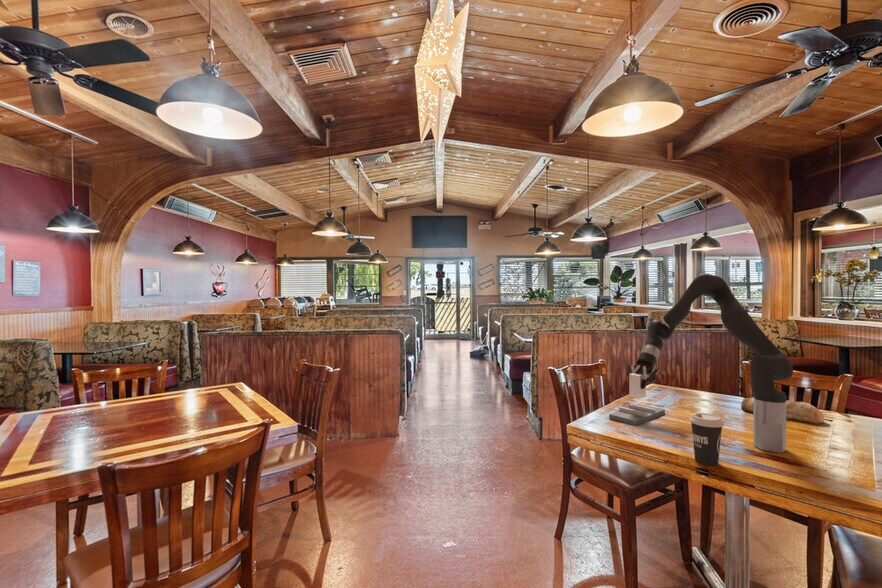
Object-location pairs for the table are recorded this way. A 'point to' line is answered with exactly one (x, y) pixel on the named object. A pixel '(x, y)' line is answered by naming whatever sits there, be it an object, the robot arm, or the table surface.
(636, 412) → the plate
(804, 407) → the bread loaf
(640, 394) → the block
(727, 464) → the table surface
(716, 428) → the coffee cup
